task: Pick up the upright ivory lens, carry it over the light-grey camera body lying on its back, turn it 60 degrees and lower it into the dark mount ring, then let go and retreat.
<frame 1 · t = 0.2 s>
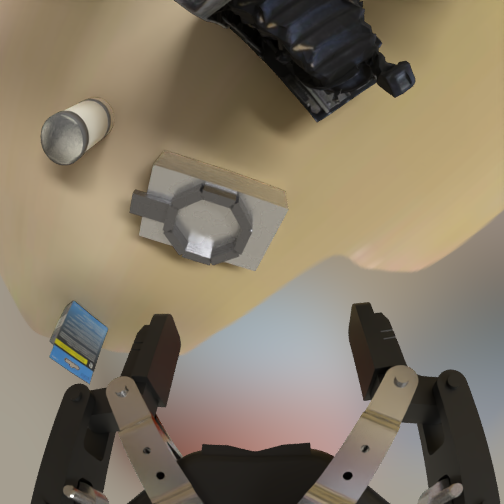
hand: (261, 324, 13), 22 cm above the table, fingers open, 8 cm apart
camera body: (213, 203, 34), on the table
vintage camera: (295, 31, 22), on the table
lens: (94, 118, 28), on the table
label tape cartridge: (87, 316, 50), on the table
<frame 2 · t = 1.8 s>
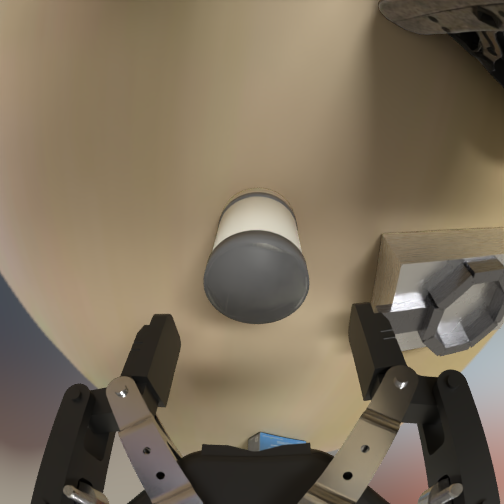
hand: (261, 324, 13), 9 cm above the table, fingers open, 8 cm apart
camera body: (444, 274, 23), on the table
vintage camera: (476, 27, 12), on the table
lens: (258, 222, 21), on the table
label tape cartridge: (277, 439, 41), on the table
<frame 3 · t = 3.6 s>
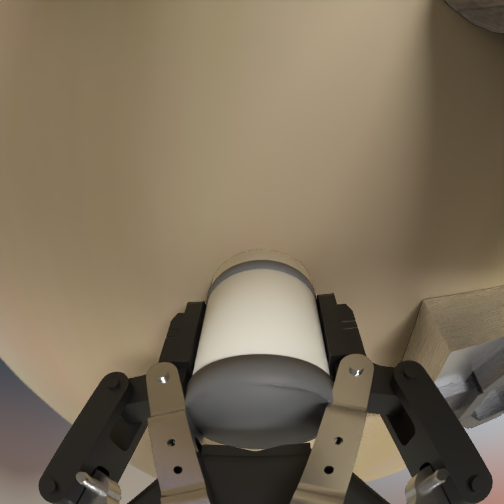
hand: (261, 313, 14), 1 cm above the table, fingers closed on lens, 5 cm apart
camera body: (483, 333, 17), on the table
lens: (261, 293, 15), on the table, touching gripper
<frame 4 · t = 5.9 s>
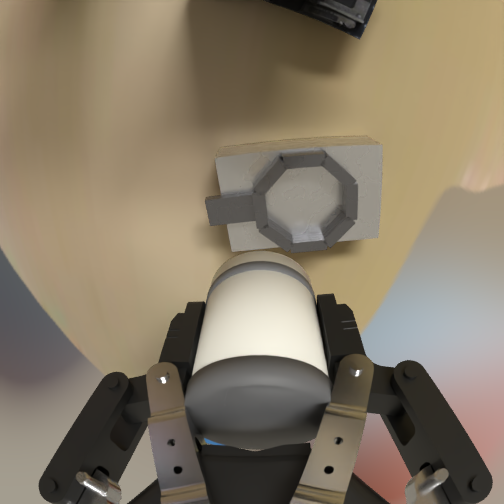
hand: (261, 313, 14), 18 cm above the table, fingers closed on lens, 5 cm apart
camera body: (299, 183, 29), on the table
lens: (261, 294, 15), point 17 cm above the table, touching gripper
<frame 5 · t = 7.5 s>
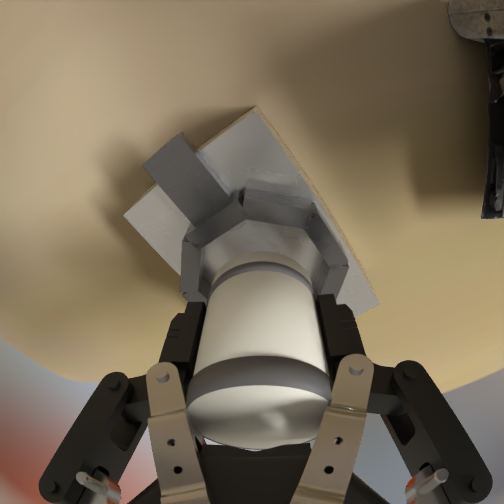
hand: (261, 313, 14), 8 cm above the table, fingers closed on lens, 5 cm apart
camera body: (262, 231, 21), on the table
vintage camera: (499, 102, 14), on the table
lens: (262, 294, 15), point 7 cm above the table, touching gripper
when the fingers open (7 cm above the table, at t = 8.5 s): lens drops 1 cm, resting on camera body.
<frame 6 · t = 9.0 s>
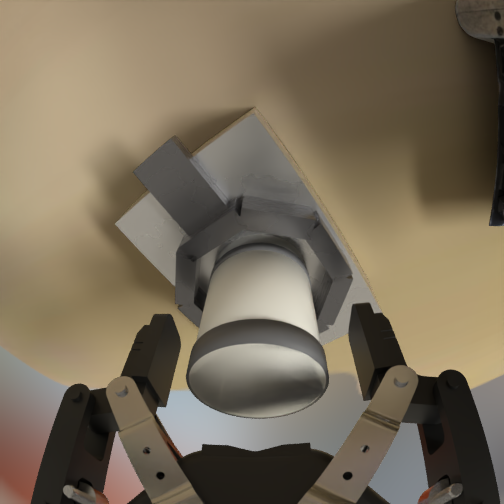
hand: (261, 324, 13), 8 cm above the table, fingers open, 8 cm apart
camera body: (262, 239, 20), on the table
lens: (260, 275, 16), point 4 cm above the table, touching camera body
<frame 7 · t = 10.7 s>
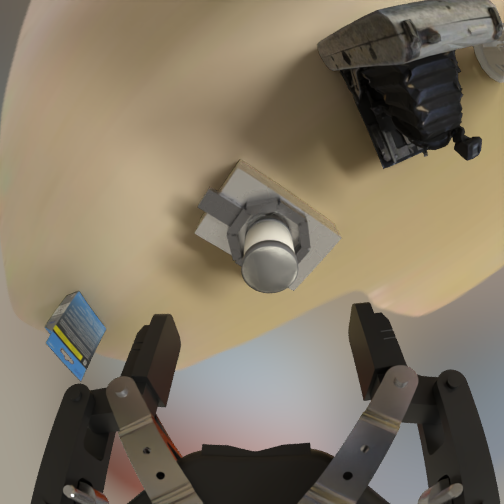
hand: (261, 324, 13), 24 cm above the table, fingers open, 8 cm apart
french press: (491, 49, 23), on the table
camera body: (268, 220, 37), on the table
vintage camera: (378, 90, 29), on the table
lens: (268, 235, 34), point 4 cm above the table, touching camera body
label tape cartridge: (86, 311, 46), on the table
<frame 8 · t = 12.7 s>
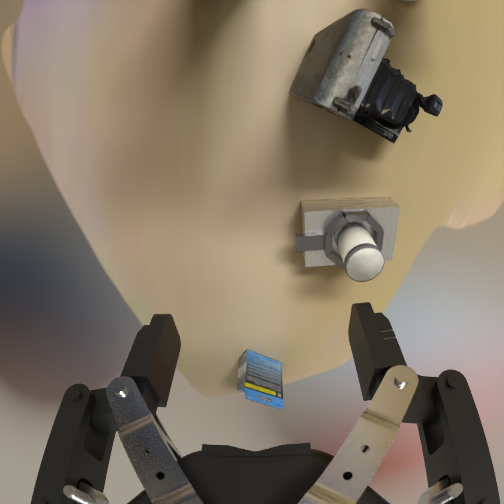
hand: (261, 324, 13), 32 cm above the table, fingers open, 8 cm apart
camera body: (346, 225, 46), on the table
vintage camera: (351, 87, 35), on the table
lens: (352, 238, 42), point 4 cm above the table, touching camera body
label tape cartridge: (260, 359, 63), on the table
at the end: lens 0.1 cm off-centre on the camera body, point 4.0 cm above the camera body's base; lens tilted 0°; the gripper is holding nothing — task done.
